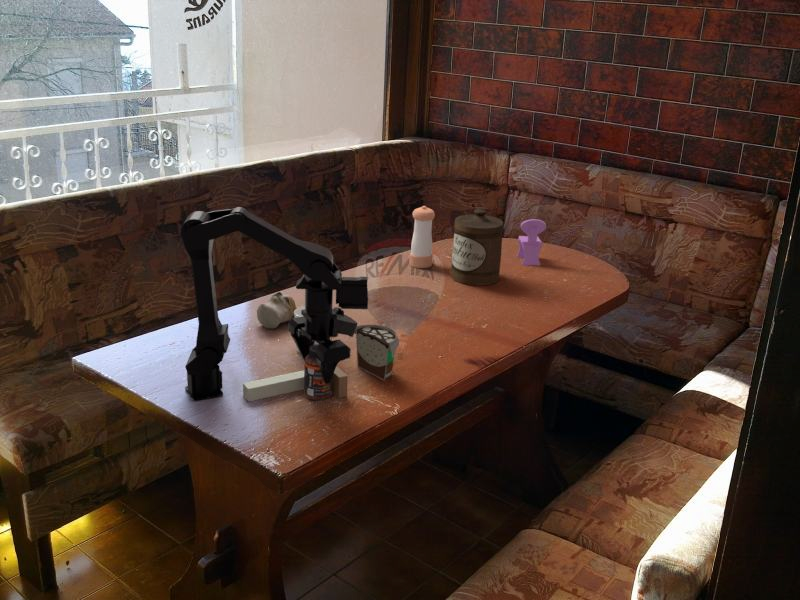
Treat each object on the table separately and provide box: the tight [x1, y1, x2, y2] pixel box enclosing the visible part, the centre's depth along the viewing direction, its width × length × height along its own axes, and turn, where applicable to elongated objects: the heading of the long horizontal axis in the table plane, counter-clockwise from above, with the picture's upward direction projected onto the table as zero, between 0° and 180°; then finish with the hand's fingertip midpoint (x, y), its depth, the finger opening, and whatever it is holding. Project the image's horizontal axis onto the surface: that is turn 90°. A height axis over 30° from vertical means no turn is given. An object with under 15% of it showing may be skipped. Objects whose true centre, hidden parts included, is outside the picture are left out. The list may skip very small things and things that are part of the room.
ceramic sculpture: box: [256, 291, 298, 329], centre depth 217 cm, size 11×9×15 cm
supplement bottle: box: [303, 344, 332, 401], centre depth 180 cm, size 6×6×11 cm
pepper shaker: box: [409, 205, 436, 269], centre depth 263 cm, size 7×7×19 cm
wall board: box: [242, 365, 348, 402], centre depth 181 cm, size 20×10×5 cm, turn 121°
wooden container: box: [450, 207, 504, 286], centre depth 254 cm, size 15×15×22 cm
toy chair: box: [516, 218, 547, 267], centre depth 273 cm, size 8×9×15 cm
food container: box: [354, 324, 400, 382], centre depth 193 cm, size 12×6×10 cm, turn 44°
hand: (317, 374), depth 181 cm, fingers open, 9 cm apart
